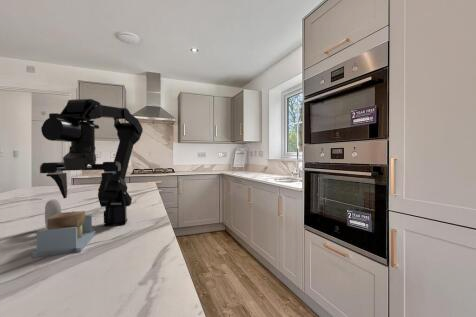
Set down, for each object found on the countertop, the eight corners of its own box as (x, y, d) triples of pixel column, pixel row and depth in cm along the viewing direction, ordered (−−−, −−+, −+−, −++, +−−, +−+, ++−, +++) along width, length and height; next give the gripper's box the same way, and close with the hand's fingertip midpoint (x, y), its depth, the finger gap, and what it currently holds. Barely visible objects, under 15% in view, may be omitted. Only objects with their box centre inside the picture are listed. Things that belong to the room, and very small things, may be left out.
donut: (62, 232, 73) (62, 200, 73) (48, 235, 71) (48, 202, 70) (57, 226, 80) (56, 196, 80) (44, 228, 77) (43, 198, 77)
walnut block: (85, 221, 67) (85, 211, 67) (77, 228, 61) (77, 216, 61) (58, 223, 65) (58, 212, 65) (47, 230, 59) (47, 218, 59)
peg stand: (95, 233, 72) (95, 214, 71) (80, 251, 58) (80, 227, 58) (56, 237, 68) (56, 217, 68) (31, 257, 55) (31, 232, 55)
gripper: (28, 140, 57) (29, 205, 57) (114, 141, 63) (114, 199, 63) (49, 143, 67) (49, 197, 67) (120, 143, 73) (121, 193, 73)
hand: (83, 197), depth 67 cm, fingers open, 9 cm apart
